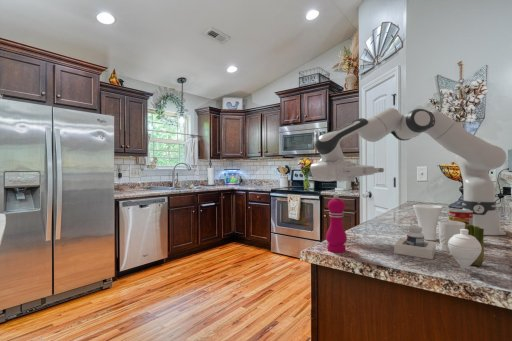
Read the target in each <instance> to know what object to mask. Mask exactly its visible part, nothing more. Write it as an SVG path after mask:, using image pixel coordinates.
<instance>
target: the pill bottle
mask: <svg viewBox="0 0 512 341" xmlns="http://www.w3.org/2000/svg"><path fill="white" fill-rule="evenodd" d="M421 232H422V227H420V226H419V225H409V226H408V232H407V233H406V239H407V245H412V246H419V247H424V241H425V240H424V235H423V234H422V233H421Z"/></svg>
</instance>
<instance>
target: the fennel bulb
mask: <svg viewBox="0 0 512 341" xmlns="http://www.w3.org/2000/svg"><path fill="white" fill-rule="evenodd" d="M466 229H467V230H469V231H468V235H471V236H473V237H475V238H476V239H477V240H478V241H479V243H480V244H481V248H482V249H481V253H480V255H479V256H478V258H477V259H476V260H475V261H474V262H473V263H472V264H471V265H470V266H482V265H483V263H484V260H485V242H484V241H485V240H484V236H485V235H484V229H483V228H479V227H478V226H474V225H466Z"/></svg>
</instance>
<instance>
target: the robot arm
mask: <svg viewBox="0 0 512 341" xmlns="http://www.w3.org/2000/svg"><path fill="white" fill-rule="evenodd" d="M422 133H425V134H426V135H428V136H429V137H431V138H432V139H433V140H434V141H435V142H436V143H438V144H439V145H441V147H443V148H444V149H445V150H447V151H448V152H451V153H453V154H455V163H456V165H457V166H458V168H459V171H460V175H461V180H462V184H463V186H462V187H463V199H462V203H461V207H462V209H461V210H470V211H473V225H474V226H478V227H479V228H483V229H484V235H483V236H506V235H507V233H506V231H504V230H502V229H501V215H500V214H499V213H497V211H496V210H497V204H496V203H497V202H496V201H495V183H494V181H493V180H492V179H491V176H490V175H489V171H493V170H496V169H499V168H500V167H502V166H504V164H505V163H506V161H507V153H506V151H505V150H504V149H503V148H502V147H501V146H498V145H495V144H493V143H492V144H491V143H489V142H488V141H486V140H484V139H482V138H480V137H478V136H476V135H475V134H473V133H471V132H469V131H468V130H466V128H464V127H463V126H462V125H460V124H459V123H457V122H456V121H455V120H454V119H452V118H451V117H449V115H446V114H445V113H443V112H441V111H439V110H436V109H432V110H427V109H425V108H424V109H423V108H416V109H413V110H411V111H408V113H405V114H402V113H400V111H399V110H398V109H396V108H393V107H387V108H386V109H383V110H381V111H379V112H377V113H376V114H374V115H372V116H370V117H369V118H362V117H361V118H357V119H355V120H352V121H349V122H348V123H346V124H344V125H342V126H340V127H337V128H335V129H333V130H331V131H328V132H324V133H322V134H320V135H319V136H318V137H317V139H316V141H315V143H314V146H315V148H316V150H317V152H318V153H319V155H320V159H319V160H318V161H317V162H314V163H311V164H310V167H309V168H310V169H309V171H310V175H311V177H312V178H313V180H314V181H318V182H333V181H337V182H351V181H353V180H354V179H356V178H358V177H365V176H371V175H375V174H376V173H377V174H378V173H384V171H385V169H384V167H375V166H373V165H366V164H357V163H356V162H355V163H354V162H353V161H351V160H346V158H345V155H344V153H343V151H342V148H341V145H340V144H341V141H343V140H344V139H346V138H348V137H350V136H352V135H355V134H358V136H360V137H361V138H362V139H363V140H366V142H367V141H368V142H371V143H375V142H379V141H380V140H383V139H384V138H385V137H387V136H388V135H390V134H391V135H393V137H394V138H395V139H396V140H399V141H404V142H405V141H409V140H411V139H413V138H416V137H418V136H420V135H421V134H422Z"/></svg>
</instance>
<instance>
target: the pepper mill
mask: <svg viewBox="0 0 512 341" xmlns="http://www.w3.org/2000/svg"><path fill="white" fill-rule="evenodd" d="M339 197H340V195H339V194H337V193H336V194H334V195H333V198H331V199H330V200H329V201H328V203H327V209H328V210H329V212H328V214H329V215H328V216H329V218H330V225H329V227H328V229H327V231H326V233H325V234H326V235H325V239H326V241H327V242H328V243H327V245H326V246H327V250H328V252H330V253H336V254H337V253H344V252H346V245H345V243H347V240H348V239H347V238H348V236H347V233H346V231H345V228H344V227H343V217H344V210H345V209H346V203H345V201H343V200H342V199H340V198H339Z"/></svg>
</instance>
